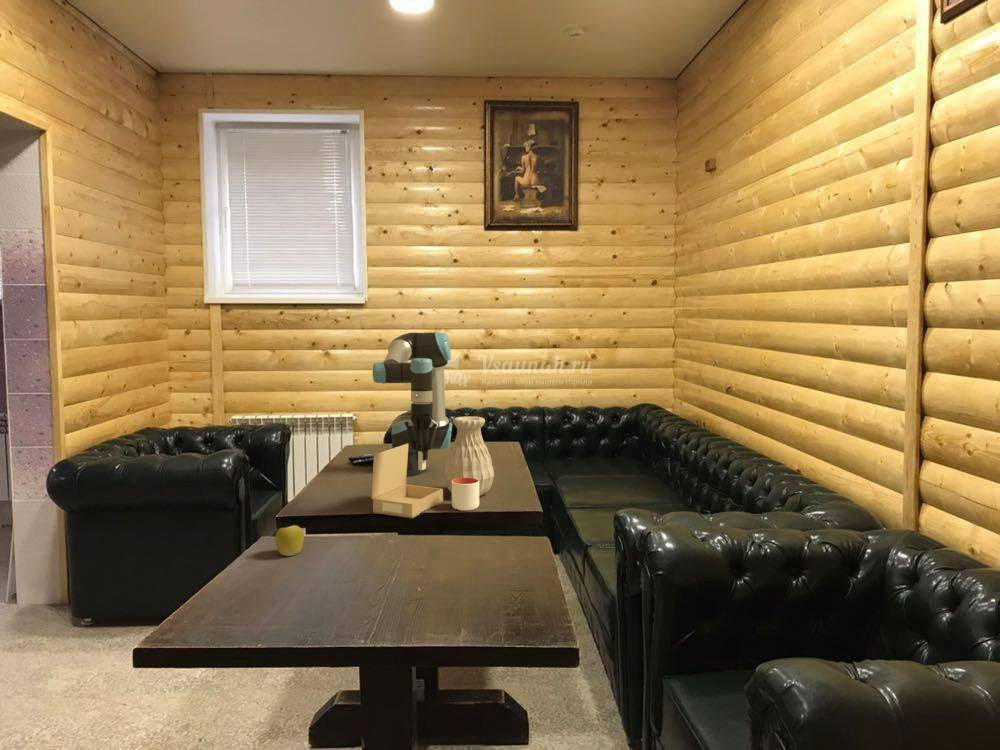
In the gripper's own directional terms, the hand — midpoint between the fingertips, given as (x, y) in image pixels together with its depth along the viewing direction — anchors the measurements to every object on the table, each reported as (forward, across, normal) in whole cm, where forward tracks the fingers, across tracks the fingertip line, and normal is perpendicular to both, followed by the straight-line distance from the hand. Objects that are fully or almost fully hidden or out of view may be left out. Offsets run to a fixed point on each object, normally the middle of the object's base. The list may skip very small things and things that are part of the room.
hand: (422, 469), depth 234 cm
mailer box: (+16, -8, +4) cm, 18 cm away
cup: (+16, +11, +12) cm, 23 cm away
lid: (+3, -16, +4) cm, 16 cm away
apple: (+17, -15, -51) cm, 55 cm away
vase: (+16, +4, +29) cm, 34 cm away
